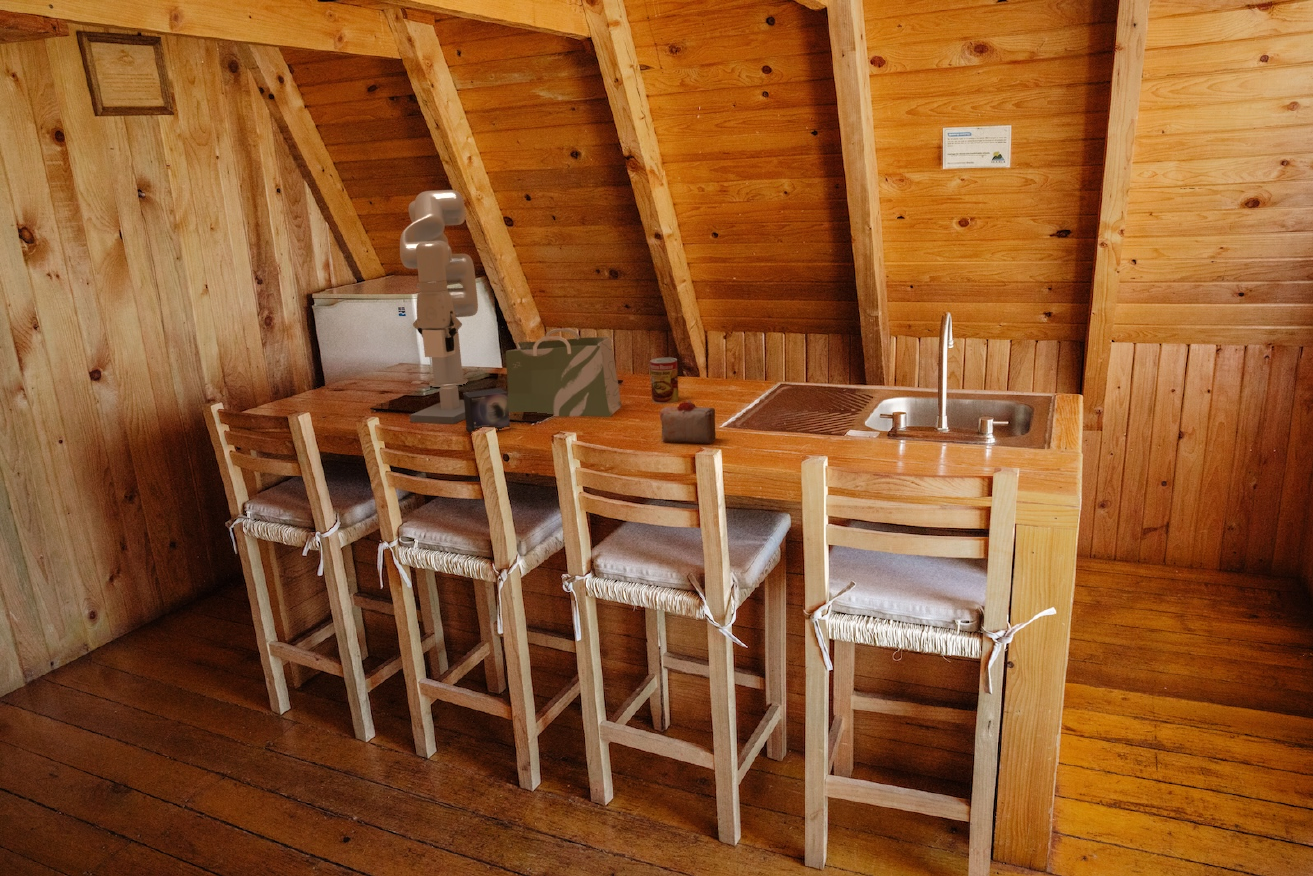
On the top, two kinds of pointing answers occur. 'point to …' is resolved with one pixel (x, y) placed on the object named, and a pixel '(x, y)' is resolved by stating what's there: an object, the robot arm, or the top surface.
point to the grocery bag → (563, 376)
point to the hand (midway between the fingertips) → (440, 350)
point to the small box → (486, 409)
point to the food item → (688, 424)
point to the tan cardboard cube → (435, 343)
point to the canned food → (664, 380)
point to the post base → (440, 414)
